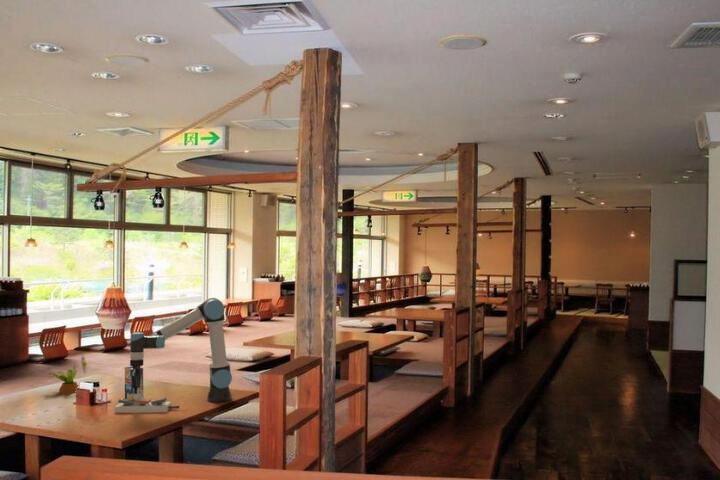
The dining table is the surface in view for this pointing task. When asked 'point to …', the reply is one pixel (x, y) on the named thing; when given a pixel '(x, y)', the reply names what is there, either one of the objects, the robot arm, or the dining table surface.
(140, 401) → the rocker
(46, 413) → the dining table surface
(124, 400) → the rocker
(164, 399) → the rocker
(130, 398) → the beverage box
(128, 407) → the power strip
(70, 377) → the decorative plant
